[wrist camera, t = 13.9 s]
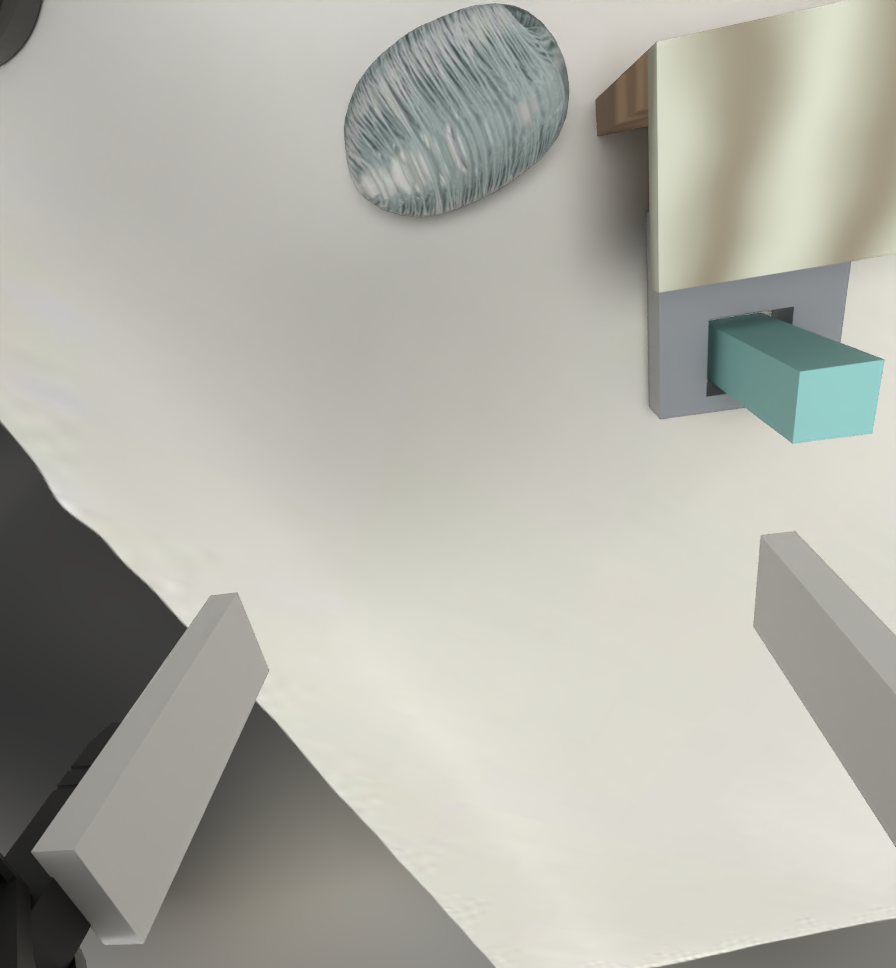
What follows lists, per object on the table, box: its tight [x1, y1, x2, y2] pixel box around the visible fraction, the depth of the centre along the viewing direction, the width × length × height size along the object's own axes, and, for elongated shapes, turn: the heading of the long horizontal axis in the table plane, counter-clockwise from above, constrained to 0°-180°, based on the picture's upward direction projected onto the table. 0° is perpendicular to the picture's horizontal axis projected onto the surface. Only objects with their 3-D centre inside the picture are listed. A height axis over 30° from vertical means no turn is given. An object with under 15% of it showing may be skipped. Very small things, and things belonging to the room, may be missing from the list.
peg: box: [707, 313, 884, 444], centre depth 36 cm, size 4×4×14 cm
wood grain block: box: [596, 0, 896, 293], centre depth 30 cm, size 18×10×14 cm, turn 100°
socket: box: [646, 211, 851, 419], centre depth 39 cm, size 12×14×3 cm
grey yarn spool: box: [344, 3, 569, 217], centre depth 33 cm, size 14×10×10 cm
